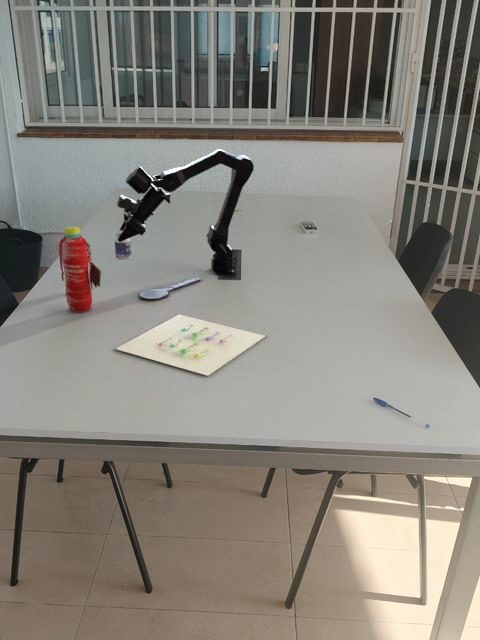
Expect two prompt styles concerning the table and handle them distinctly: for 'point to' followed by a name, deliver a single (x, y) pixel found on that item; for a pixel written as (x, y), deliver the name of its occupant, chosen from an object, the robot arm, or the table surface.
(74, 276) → the water bottle
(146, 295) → the spoon
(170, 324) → the printed paper
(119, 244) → the pill bottle
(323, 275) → the table surface
